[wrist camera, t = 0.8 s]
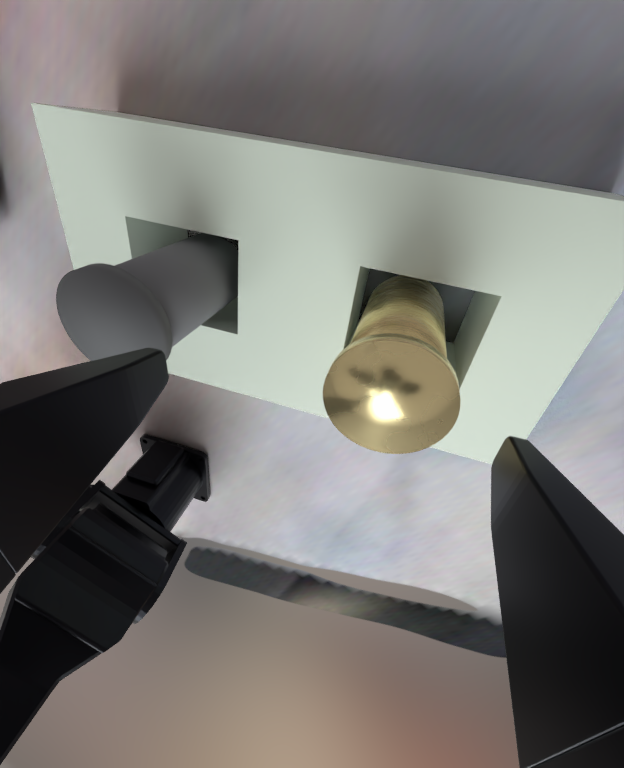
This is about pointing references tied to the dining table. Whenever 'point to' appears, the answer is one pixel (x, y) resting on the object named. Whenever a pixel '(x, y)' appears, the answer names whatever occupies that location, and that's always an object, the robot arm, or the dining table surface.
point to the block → (346, 256)
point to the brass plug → (395, 372)
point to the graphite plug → (148, 297)
